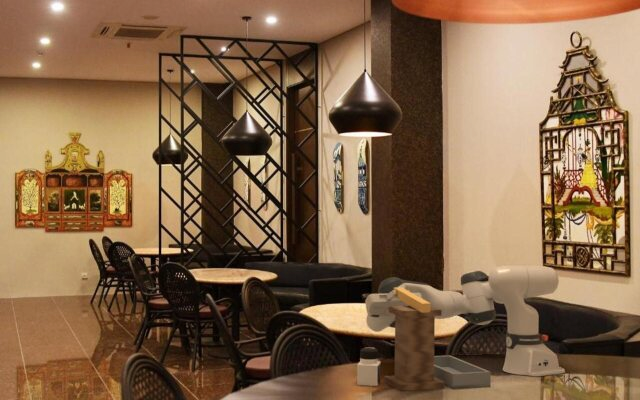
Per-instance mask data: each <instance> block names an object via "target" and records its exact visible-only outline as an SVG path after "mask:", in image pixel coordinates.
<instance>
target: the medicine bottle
mask: <svg viewBox="0 0 640 400" xmlns="http://www.w3.org/2000/svg"><path fill="white" fill-rule="evenodd" d="M359 353H360V354H359V355H360V356H359V360H360V361H359V362H358V363H357V366H356V385H357V386H365V387H367V386H368V387H378V386H379V385H380V384H381V381H382V380H381V378H382V377H381V374H382V373H381V371H382V370H381V368H382V367H381V366H382V365H381V360H379V350H378V349H377V348H375V347H363V348H361V349H360V351H359Z"/></svg>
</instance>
